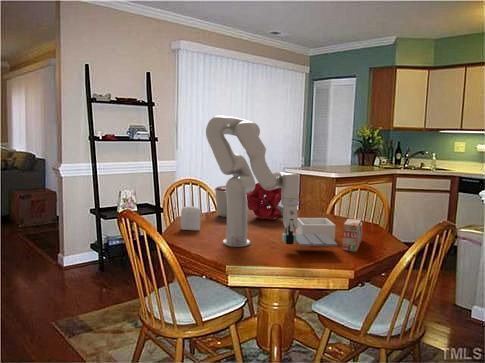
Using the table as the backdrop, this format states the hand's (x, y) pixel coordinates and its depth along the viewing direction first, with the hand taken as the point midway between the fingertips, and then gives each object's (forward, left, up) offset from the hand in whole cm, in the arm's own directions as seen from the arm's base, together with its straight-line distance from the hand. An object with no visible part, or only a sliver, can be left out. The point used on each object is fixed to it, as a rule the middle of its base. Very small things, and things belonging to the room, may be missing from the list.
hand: (288, 242), depth 179 cm
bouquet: (+68, 0, -4) cm, 69 cm away
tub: (+25, -18, -4) cm, 31 cm away
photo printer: (+38, +45, -4) cm, 59 cm away
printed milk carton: (+11, -32, -5) cm, 35 cm away
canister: (+74, +24, -4) cm, 78 cm away
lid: (0, -8, +1) cm, 8 cm away
